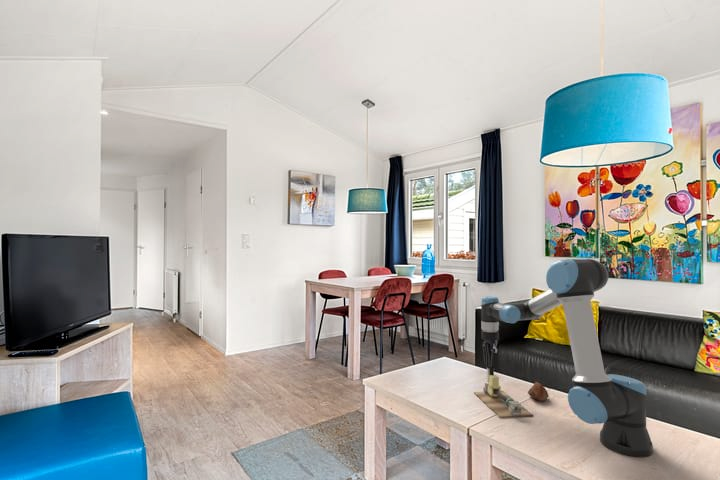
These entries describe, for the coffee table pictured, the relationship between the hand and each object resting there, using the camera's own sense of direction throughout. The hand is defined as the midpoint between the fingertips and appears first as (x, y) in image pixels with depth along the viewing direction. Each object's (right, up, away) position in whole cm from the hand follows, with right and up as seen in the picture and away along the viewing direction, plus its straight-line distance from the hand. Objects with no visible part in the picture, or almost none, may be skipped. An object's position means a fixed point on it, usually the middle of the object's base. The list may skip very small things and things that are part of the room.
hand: (490, 381), depth 181 cm
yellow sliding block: (0, -4, -4) cm, 6 cm away
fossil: (+20, -6, -5) cm, 21 cm away
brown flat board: (+1, -6, -11) cm, 12 cm away
